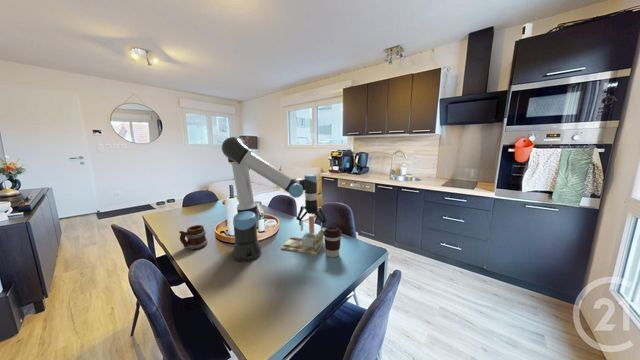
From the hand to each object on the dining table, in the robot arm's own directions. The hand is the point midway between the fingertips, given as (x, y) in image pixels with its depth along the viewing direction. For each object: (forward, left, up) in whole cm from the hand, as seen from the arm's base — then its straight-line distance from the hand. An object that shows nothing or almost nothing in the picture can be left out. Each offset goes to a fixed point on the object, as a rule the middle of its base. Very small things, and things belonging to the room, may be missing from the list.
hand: (311, 231), depth 140 cm
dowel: (0, 0, -5) cm, 5 cm away
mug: (-64, -30, -5) cm, 71 cm away
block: (+3, -11, -4) cm, 12 cm away
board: (-2, -11, -5) cm, 12 cm away
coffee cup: (+17, -16, -5) cm, 24 cm away
